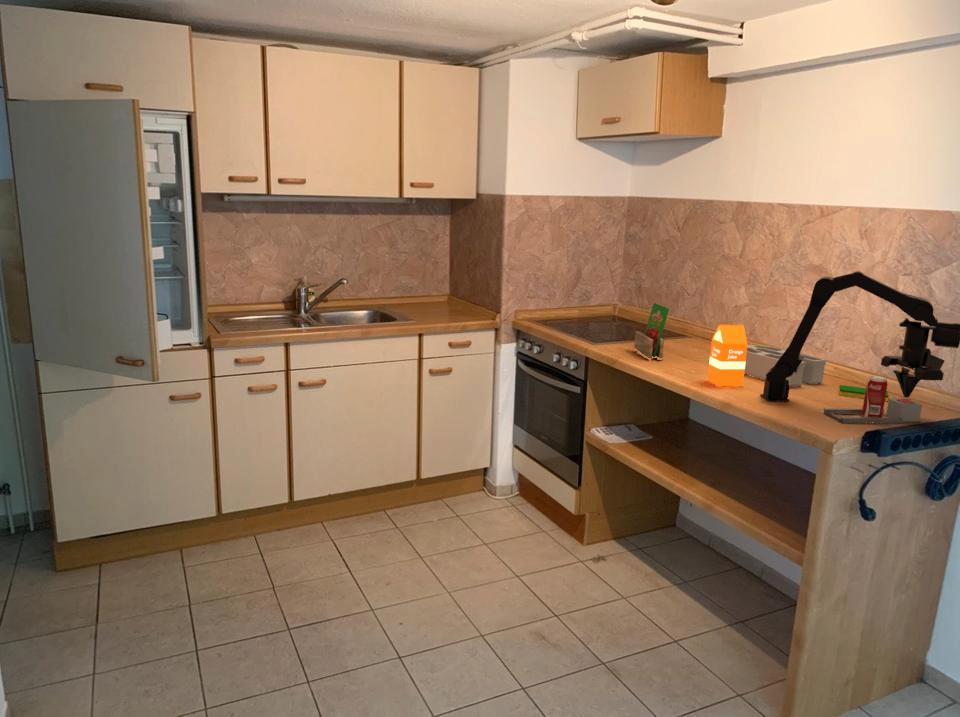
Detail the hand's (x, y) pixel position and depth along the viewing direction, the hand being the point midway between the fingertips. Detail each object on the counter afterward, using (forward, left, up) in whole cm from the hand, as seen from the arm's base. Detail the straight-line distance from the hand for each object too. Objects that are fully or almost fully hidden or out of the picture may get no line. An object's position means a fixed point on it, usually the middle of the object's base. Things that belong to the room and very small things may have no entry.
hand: (906, 397), depth 212 cm
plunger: (0, 0, -6) cm, 6 cm away
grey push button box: (0, 0, -6) cm, 6 cm away
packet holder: (-48, +80, -6) cm, 94 cm away
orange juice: (-36, +38, -7) cm, 53 cm away
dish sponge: (+3, +24, -7) cm, 25 cm away
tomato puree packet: (-49, +80, -7) cm, 94 cm away
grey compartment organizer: (-14, +49, -7) cm, 51 cm away
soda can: (-10, 0, -7) cm, 12 cm away
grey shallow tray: (-12, 0, -6) cm, 14 cm away
